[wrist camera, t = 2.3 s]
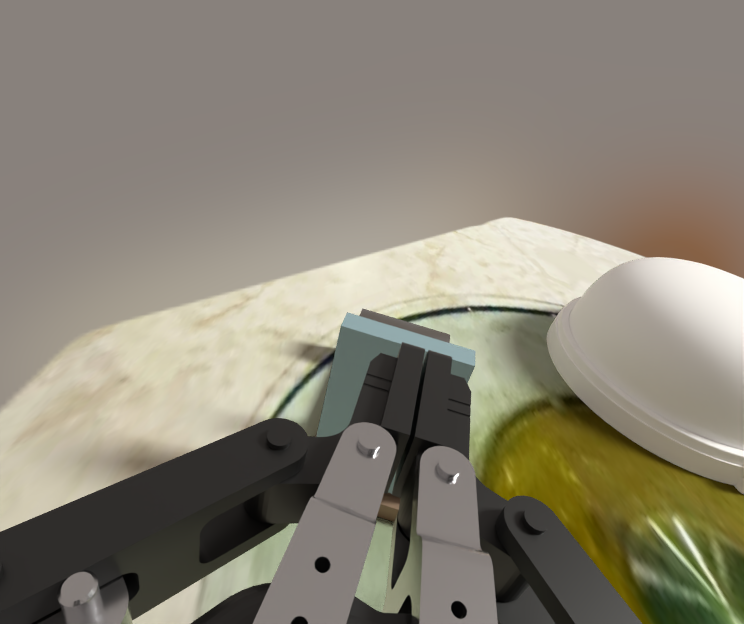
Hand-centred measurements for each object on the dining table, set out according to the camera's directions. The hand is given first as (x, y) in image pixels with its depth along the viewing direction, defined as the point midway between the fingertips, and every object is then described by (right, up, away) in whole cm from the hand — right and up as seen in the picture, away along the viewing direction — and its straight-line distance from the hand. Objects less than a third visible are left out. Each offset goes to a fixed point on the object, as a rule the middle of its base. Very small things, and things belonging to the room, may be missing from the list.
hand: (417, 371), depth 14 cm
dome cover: (+35, -7, +44) cm, 56 cm away
